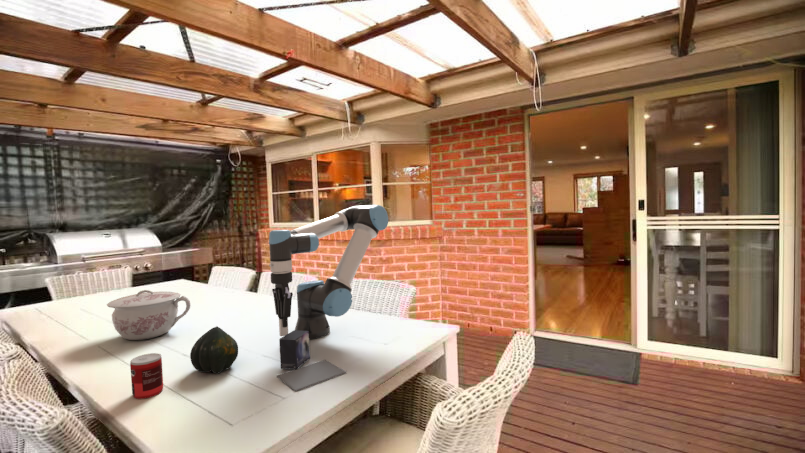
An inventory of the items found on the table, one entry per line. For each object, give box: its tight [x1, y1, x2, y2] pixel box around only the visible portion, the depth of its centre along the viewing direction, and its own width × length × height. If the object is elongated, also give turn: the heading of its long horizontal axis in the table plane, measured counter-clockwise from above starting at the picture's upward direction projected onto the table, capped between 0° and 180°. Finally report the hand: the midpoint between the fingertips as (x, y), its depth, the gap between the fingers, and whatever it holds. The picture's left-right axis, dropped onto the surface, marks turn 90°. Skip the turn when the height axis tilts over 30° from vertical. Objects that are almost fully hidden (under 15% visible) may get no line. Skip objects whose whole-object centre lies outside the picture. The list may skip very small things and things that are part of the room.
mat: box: [276, 359, 347, 392], centre depth 123 cm, size 14×18×1 cm
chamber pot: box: [106, 289, 192, 341], centre depth 168 cm, size 28×28×21 cm
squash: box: [189, 325, 239, 374], centre depth 130 cm, size 14×15×15 cm
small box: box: [278, 329, 311, 370], centre depth 131 cm, size 11×6×10 cm, turn 168°
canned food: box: [129, 352, 164, 400], centre depth 113 cm, size 8×8×11 cm
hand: (283, 335), depth 138 cm, fingers closed
